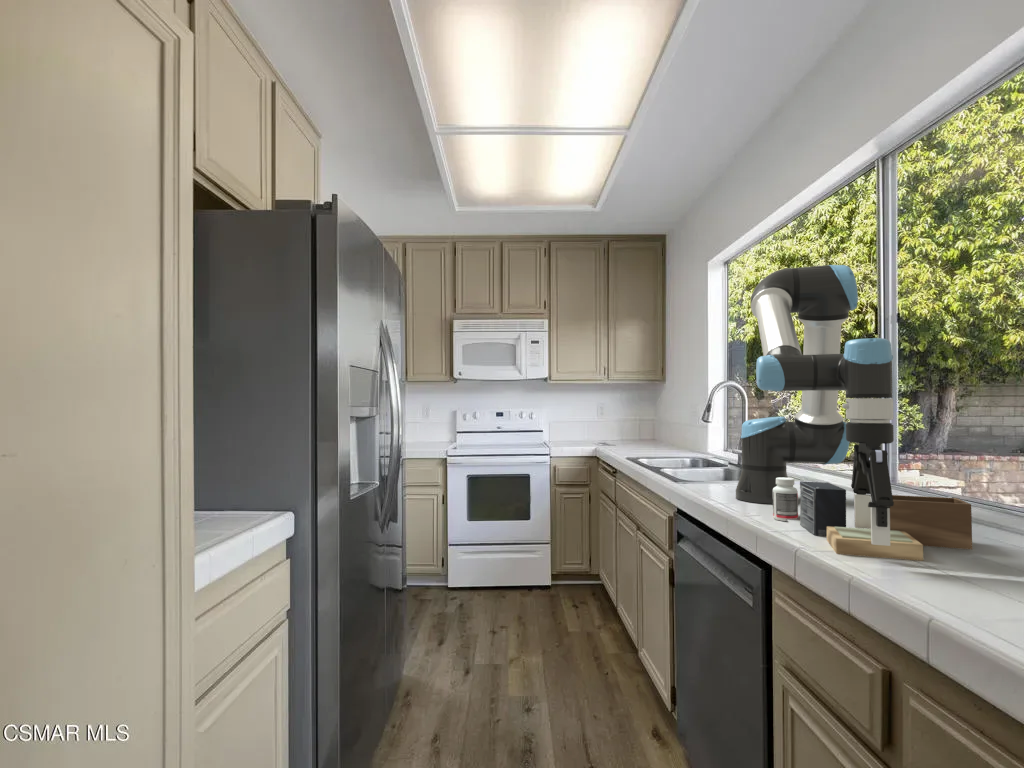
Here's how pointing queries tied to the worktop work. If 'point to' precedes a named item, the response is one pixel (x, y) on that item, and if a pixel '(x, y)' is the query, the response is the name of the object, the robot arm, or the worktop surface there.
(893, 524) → the tea box
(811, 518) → the small box
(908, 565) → the worktop surface
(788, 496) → the pill bottle
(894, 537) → the lid
